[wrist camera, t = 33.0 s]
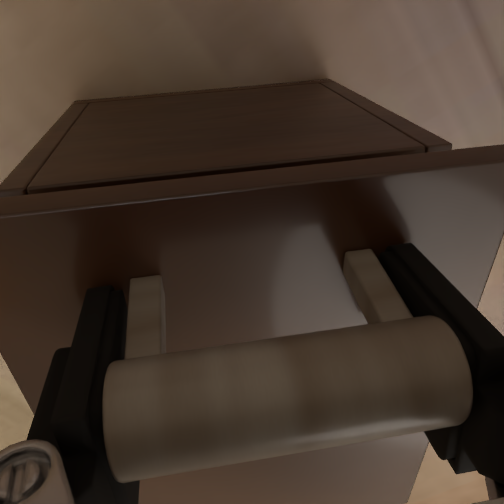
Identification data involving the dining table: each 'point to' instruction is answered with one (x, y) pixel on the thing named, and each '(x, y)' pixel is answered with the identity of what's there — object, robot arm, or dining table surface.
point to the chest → (212, 136)
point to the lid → (260, 320)
